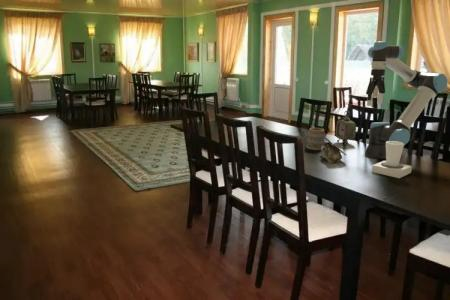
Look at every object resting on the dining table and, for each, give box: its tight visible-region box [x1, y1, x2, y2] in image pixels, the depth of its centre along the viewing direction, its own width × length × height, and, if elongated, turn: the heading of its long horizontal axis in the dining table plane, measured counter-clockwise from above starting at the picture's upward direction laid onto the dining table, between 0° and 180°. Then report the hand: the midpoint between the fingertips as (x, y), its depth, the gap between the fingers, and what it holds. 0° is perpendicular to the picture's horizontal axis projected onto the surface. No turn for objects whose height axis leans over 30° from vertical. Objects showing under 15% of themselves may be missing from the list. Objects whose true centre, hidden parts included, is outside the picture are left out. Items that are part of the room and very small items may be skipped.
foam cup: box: [385, 141, 405, 166], centre depth 223 cm, size 10×9×13 cm
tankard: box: [305, 124, 326, 151], centre depth 285 cm, size 20×13×15 cm, turn 179°
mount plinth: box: [371, 160, 413, 179], centre depth 225 cm, size 16×16×4 cm
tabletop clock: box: [335, 110, 357, 146], centre depth 297 cm, size 14×9×25 cm, turn 14°
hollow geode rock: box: [320, 137, 348, 164], centre depth 253 cm, size 28×13×15 cm
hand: (374, 105), depth 234 cm, fingers open, 13 cm apart
